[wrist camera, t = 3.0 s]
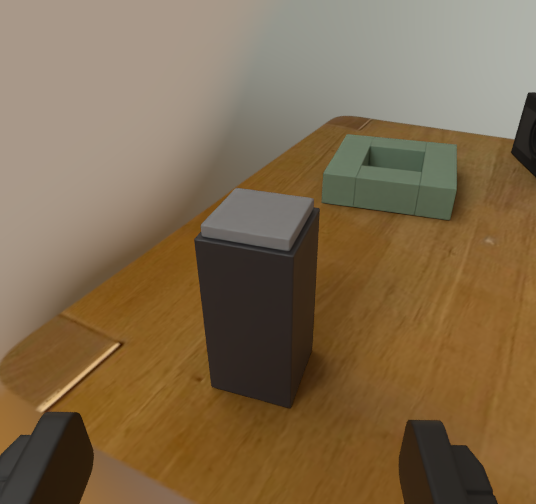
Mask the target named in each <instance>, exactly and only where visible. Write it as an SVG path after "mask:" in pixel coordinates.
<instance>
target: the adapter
mask: <svg viewBox="0 0 536 504" xmlns="http://www.w3.org/2000/svg"><path fill="white" fill-rule="evenodd" d="M456 191H457V145H454V144H444V143H433V142H423V141H412V140H402V139H391V138H380V137H370V136H359V135H349V134H347V135H346V137H345V139H344V140H343V142H342V144H341V145H340V147H339V149H338V150H337V152H336V153H335V155H334V157H333V158H332V160H331V162H330V163H329V165H328V167H327V168H326V170H325V171H324V173H323V187H322V203H328V204H335V205H343V206H350V207H358V208H365V209H372V210H380V211H387V212H394V213H401V214H408V215H415V216H423V217H430V218H437V219H444V220H450V217H451V213H452V209H453V204H454V200H455V196H456Z"/></svg>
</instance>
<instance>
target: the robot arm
mask: <svg viewBox="0 0 536 504" xmlns="http://www.w3.org/2000/svg"><path fill="white" fill-rule="evenodd" d="M93 459H94V453H93V448H92V445H91V442H90V439H89V437H88V434H87V431H86V428H85V426H84V423H83V420H82V417H81V415H80V414H79V413H77V412H46V413H45V414H43V415H42V417H41V418H40V420H39V421H38V423H37V425H36V427H35V429H34V431H33V433H32V434H31V435H20V436H19V437H18V438H17V439H16V440H15V441H14V442H13V443H12V444H11V445H10V446H9V447H8V448H7V449H6V450H5V451H4V452H3V453H2V454H1V455H0V504H79V503H80V501H81V498H82V496H83V493H84V490H85V488H86V485H87V482H88V480H89V477H90V475H91V471H92V467H93ZM399 477H400V484H401V489H402V493H403V498H404V503H405V504H498V503H497V500H496V498H495V496H494V495H493V490H492V487H491V485H490V482H489V480H488V477H487V475H486V472H485V469H484V467H483V465H482V464H481V463H480V462H479V461H478V459H477V458H476V457H475V456H474V454H473V453H472V452H471V451H470V450H469V448H468V447H467V446H464V445H451V444H450V442H449V439H448V436H447V433H446V430H445V427H444V425H443V423H442V422H441V421H439V420H408V421H407V424H406V428H405V433H404V437H403V442H402V446H401V451H400V455H399Z"/></svg>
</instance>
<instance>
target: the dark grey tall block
mask: <svg viewBox="0 0 536 504" xmlns="http://www.w3.org/2000/svg"><path fill="white" fill-rule="evenodd" d="M319 212H320V209H319V208H314V199H313V198H306V197H299V196H292V195H284V194H277V193H270V192H262V191H255V190H248V189H241V188H236V189H235V190H234V191H233V192H232V193H231V194H230V195H229V196H228V197H227V198H226V199H225V200H224V201H223V202H222V203H221V204H220V205H219V206H218V207H217V209H216V210H215V211H214V212H213V213H212V214H211V215H210V216H209V217H208V218H207V219H206V220H205V221H204V222H203V223H202V224H201V232H200V233H199V235H198V236H197V237H196V238H195V239H194V241H195V250H196V258H197V267H198V275H199V284H200V293H201V301H202V310H203V318H204V327H205V335H206V344H207V352H208V361H209V369H210V378H211V386H212V387H214V388H217V389H221V390H225V391H228V392H232V393H236V394H239V395H243V396H247V397H250V398H254V399H258V400H261V401H265V402H269V403H272V404H276V405H280V406H283V407H287V408H291V406H292V403H293V400H294V398H295V395H296V392H297V389H298V387H299V384H300V381H301V378H302V376H303V373H304V370H305V368H306V365H307V362H308V359H309V357H310V354H311V351H312V343H313V324H314V306H315V287H316V268H317V250H318V231H319Z"/></svg>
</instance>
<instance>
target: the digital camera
mask: <svg viewBox="0 0 536 504" xmlns="http://www.w3.org/2000/svg"><path fill="white" fill-rule="evenodd" d="M511 153H512V154H513V155H514V156H515V157H516V158H517V159H518V160H519V161H520V162H521V163H522V164H523V165H524V166H525V167H526V168H527V169H528V170H529V171H530V172H532V173H533V174H534V175H535V176H536V93H528V95H527V98H526V102H525V105H524V109H523V112H522V116H521V119H520V123H519V126H518V130H517V133H516V137H515V140H514V144H513V148H512V151H511Z"/></svg>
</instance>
